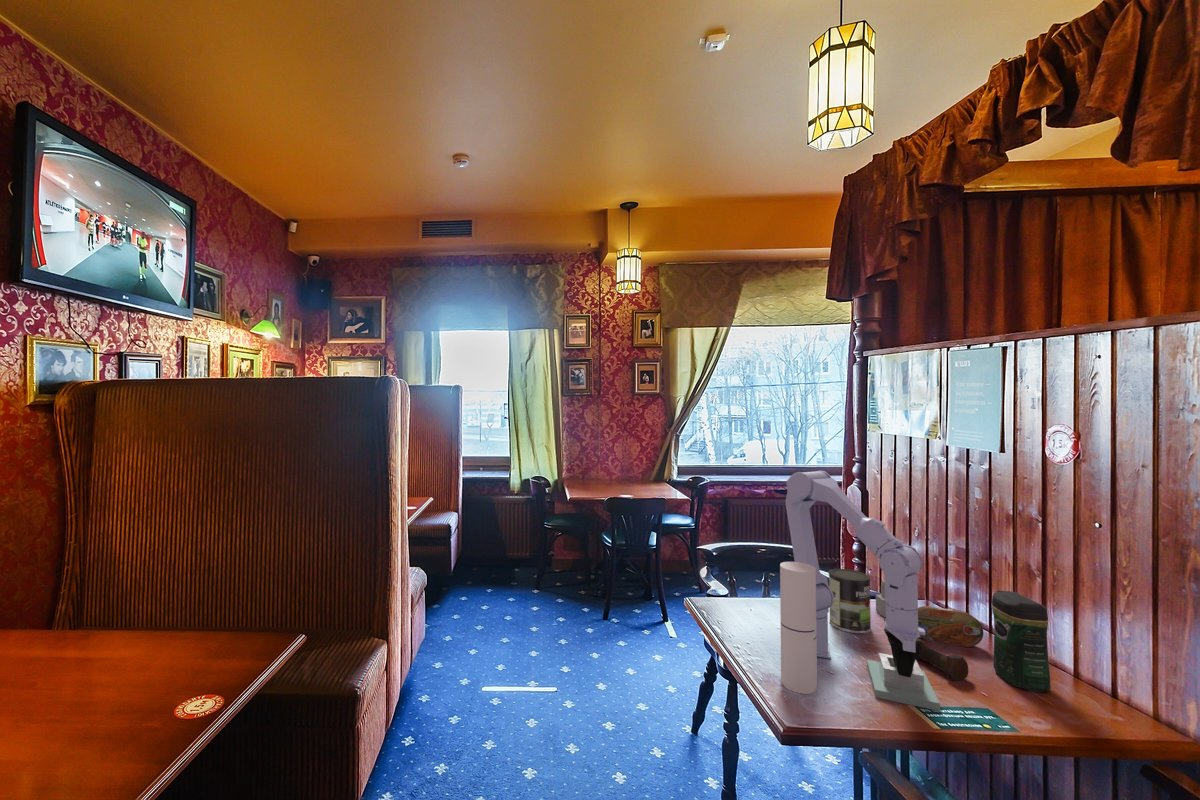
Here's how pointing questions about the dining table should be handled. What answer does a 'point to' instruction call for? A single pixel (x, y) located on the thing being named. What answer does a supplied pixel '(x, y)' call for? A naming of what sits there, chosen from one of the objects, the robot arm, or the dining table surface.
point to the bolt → (945, 662)
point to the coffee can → (850, 600)
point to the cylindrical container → (798, 627)
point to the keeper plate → (902, 690)
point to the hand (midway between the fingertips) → (902, 671)
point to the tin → (949, 626)
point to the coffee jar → (1020, 641)
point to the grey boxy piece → (897, 681)
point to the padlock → (881, 601)
